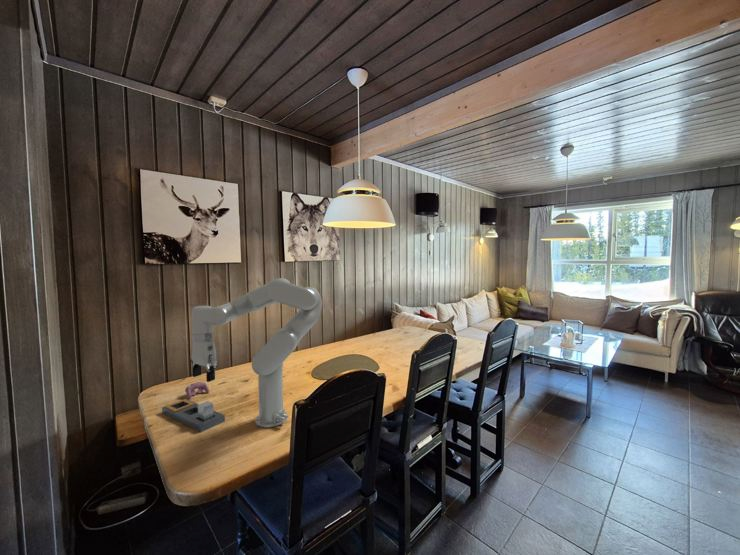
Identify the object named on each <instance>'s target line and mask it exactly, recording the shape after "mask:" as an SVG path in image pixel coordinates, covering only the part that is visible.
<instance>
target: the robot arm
mask: <svg viewBox="0 0 740 555" xmlns="http://www.w3.org/2000/svg"><path fill="white" fill-rule="evenodd" d="M322 301H323V299H322V297H321V294H320V292H319V291H318V290H317V289H316V288H315V287H313V286H306V287H304V286H301V285H300V286H299V285H298V284H297V285H296V284H294V283H291V281H289V279H286V278H284V277H279V278H275V279H272V280H271V281H269V282H267V283H265V284H263V285H260V286H258V287H256V288H253V289H251V290H250V291H248V292H247V293H245V295H242V296H240V297H238V298H236V299H234V300H232V301H229V302H227V303H224V304H221V305H218V306H214V307H212V306H211V305H197V306H194V307H192V309H191V329H192V330H191V333H192V334H191V336H192V339H191V340H192V347H191V348H192V349H191V351H192V352H191V354H190V361H191V367H192V377H193V378H196V377H200V376H201V375H202V367H205V368H206V375H205V376H206V380H205V381H206V382H208V383H209V382H213V381H214V380H216V369H217V366H218V361H217V349H216V343H215V339H214V326H223V325H225V324H227V323H229V322H232V321H233V320H235V319H237V318H240V317H242V316H244V315H246V314H249V313H252V312H257V311H260V310H262V309H264V308H266V307H268V306H271V305H274V304H275V303H279V304H282V305H285V306H288V307H292V308H295V309H298V311H297V312H296V314H295V313H294V316H293V317H292V318H291V319H290V320H289V321H288V322H287V323H286V324H285V325H283V327H282V328H280V329H279V330H278V331H277V332H275V334H274V335H272V337H271V338H270V339H269V340H268V341H267V342H266V343H265V344H264V346H262V347H261V348H260V349H259V350H258V352H256V354H254V356H253V357H252V360H251V369H252V371H253V372H254V373H255V374H256V375H257V376H258V378H257V379H258V383H257V384H258V387H257V388H258V415H257V416H256V417H255V421H254V422H255V425H256V426H258V427H260V428H273V427H279V426H280V425H282V424H286V422H287V419H288V418H289V415H288V414H287V412H286V410H285V409H284V395H283V394H284V393H283V392H284V390H283V389H284V388H283V387H284V386H283V382H284V379H283V372H284V369H283V367H284V362H285V361H286V359H288V357H289V356H290V355H291V354H292V353H293V352H294V350H295V349H296V348H297V346H298V344H299V342H300V341H301V340H302V338H303V337H305V335H306V334H307V333H308V332H309V331H310V329H312V327H313V326H315V324H316V323H317V321H318V319H319V318H320V315H321V313H322V310H323V308H322V307H323V302H322Z"/></svg>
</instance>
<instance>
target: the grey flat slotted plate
mask: <svg viewBox="0 0 740 555" xmlns="http://www.w3.org/2000/svg"><path fill="white" fill-rule="evenodd" d="M199 404H200V403H197V402H194V401H193V400H191V399H188V398H184V399H181V400H179V401H175V402H173V403H170V404H168V405H165V406H162V407H161V413H162V414H163V413H164V414H163V415H165V414H166V415H165V416H167V415H168V416H167V417H169V416H170V417H169V418H172V419H174V420H175V421H177V422H179V423H181V424H183V425H185V426H187V427H189V428H191V429H193V430H195V431H197V432H200V433H202V432H205V431H207V430H209V429H211V428H214V427H215V426H218V425H220V424H222V423H224V422H225V420H226V417H225V416H226V415H225V414H224V413H223V414H222V413H221V412H218V411H215V410H214V409H213V418H211V419H209V420H206V421H204V422H202V421H200V420H198V405H199Z"/></svg>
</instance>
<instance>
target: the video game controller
mask: <svg viewBox="0 0 740 555" xmlns="http://www.w3.org/2000/svg"><path fill="white" fill-rule="evenodd" d="M196 389H197V391H196ZM203 392H205V393H206V394H209V393H210V389H209V386H208V384H207V383H206V382H204V381H199V382H197V381H196V382H194V383H192V384H189V385H188V386H187V387H186V388H185V394H186V396H187V399H188V400H191V399H192V397H193V395H194V396H195V395H196V394H199V393H201V394H203Z"/></svg>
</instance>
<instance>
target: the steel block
mask: <svg viewBox="0 0 740 555" xmlns="http://www.w3.org/2000/svg"><path fill="white" fill-rule="evenodd" d="M198 404H199V405H198V420H200V421H202V422H204V421H206V420H209V419H211V418H213V410H214V403H213V402H211V401H208V400H207V401H204V402H201V403H198Z"/></svg>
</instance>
